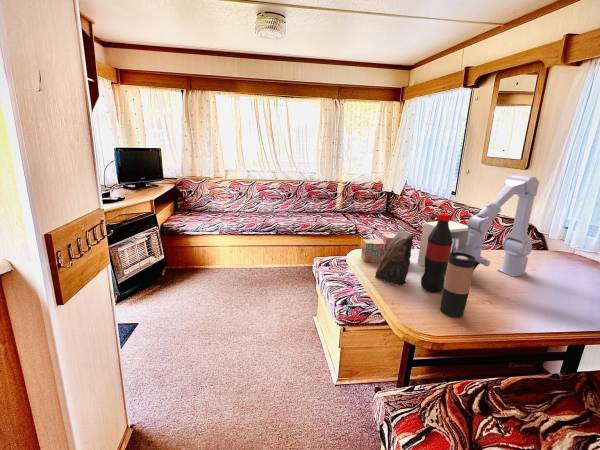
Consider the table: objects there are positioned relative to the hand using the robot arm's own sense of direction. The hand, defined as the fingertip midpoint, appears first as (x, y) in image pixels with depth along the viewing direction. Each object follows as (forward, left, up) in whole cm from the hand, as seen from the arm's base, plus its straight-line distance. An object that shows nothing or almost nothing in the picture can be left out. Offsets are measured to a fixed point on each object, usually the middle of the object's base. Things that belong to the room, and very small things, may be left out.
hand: (468, 275), depth 134 cm
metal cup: (0, -11, -1) cm, 11 cm away
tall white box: (0, -14, -1) cm, 14 cm away
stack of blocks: (+21, -29, -2) cm, 35 cm away
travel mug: (+31, +17, -1) cm, 35 cm away
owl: (+32, -12, -1) cm, 34 cm away
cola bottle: (+24, +2, -1) cm, 24 cm away
